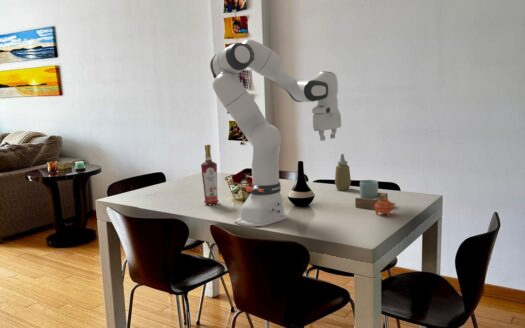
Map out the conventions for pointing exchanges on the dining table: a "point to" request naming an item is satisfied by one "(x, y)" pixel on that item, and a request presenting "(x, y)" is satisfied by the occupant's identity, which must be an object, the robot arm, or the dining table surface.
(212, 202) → the liquor
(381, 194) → the dock
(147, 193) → the dining table surface
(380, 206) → the orange rounded figure
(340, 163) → the squeeze bottle
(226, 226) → the dining table surface
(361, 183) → the cup
